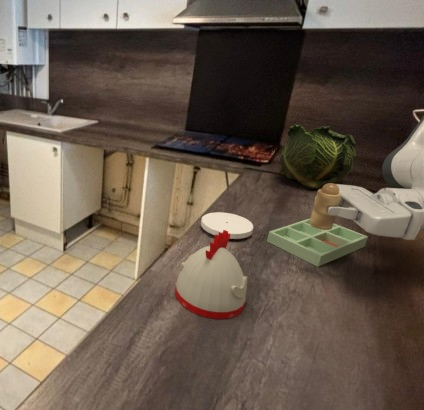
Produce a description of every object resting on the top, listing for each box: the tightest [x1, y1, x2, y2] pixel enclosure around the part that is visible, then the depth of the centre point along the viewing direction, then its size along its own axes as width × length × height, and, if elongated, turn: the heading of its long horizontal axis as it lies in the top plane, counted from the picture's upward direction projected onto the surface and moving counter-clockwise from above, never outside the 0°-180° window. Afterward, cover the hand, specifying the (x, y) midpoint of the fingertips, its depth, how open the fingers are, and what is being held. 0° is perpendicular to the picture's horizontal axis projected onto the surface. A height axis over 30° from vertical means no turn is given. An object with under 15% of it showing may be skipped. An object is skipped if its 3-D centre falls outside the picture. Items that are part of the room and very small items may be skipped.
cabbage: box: [278, 124, 358, 191], centre depth 135 cm, size 25×24×23 cm
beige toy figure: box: [309, 183, 342, 230], centre depth 78 cm, size 4×4×10 cm
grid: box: [266, 217, 369, 268], centre depth 95 cm, size 14×21×3 cm
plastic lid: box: [200, 211, 254, 240], centre depth 103 cm, size 14×14×2 cm
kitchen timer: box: [174, 230, 248, 320], centre depth 73 cm, size 14×14×15 cm
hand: (321, 204), depth 78 cm, fingers closed on beige toy figure, 4 cm apart
